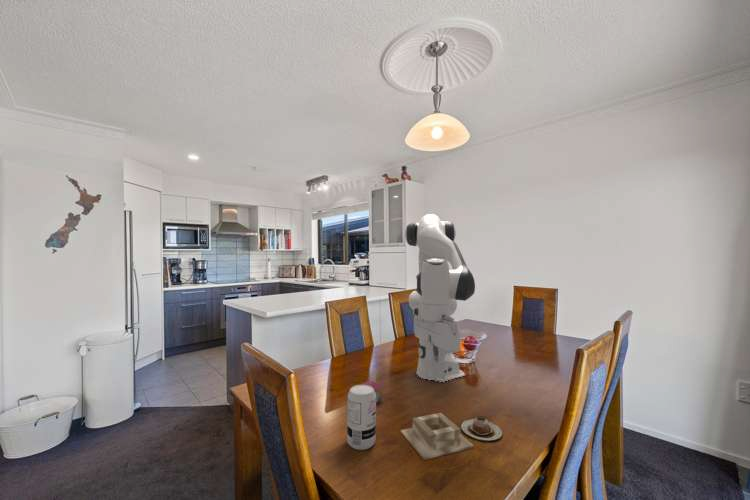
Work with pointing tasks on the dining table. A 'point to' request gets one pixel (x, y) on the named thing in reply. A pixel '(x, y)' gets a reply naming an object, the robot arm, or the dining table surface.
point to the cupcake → (375, 386)
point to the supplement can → (361, 417)
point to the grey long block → (433, 361)
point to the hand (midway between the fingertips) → (435, 359)
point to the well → (435, 436)
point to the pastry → (481, 428)
